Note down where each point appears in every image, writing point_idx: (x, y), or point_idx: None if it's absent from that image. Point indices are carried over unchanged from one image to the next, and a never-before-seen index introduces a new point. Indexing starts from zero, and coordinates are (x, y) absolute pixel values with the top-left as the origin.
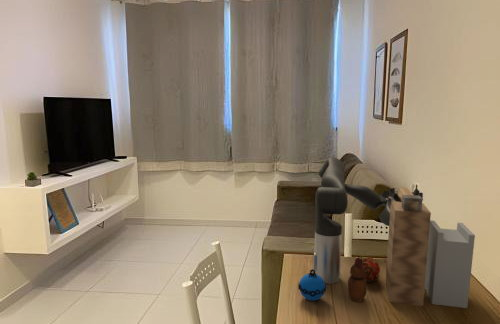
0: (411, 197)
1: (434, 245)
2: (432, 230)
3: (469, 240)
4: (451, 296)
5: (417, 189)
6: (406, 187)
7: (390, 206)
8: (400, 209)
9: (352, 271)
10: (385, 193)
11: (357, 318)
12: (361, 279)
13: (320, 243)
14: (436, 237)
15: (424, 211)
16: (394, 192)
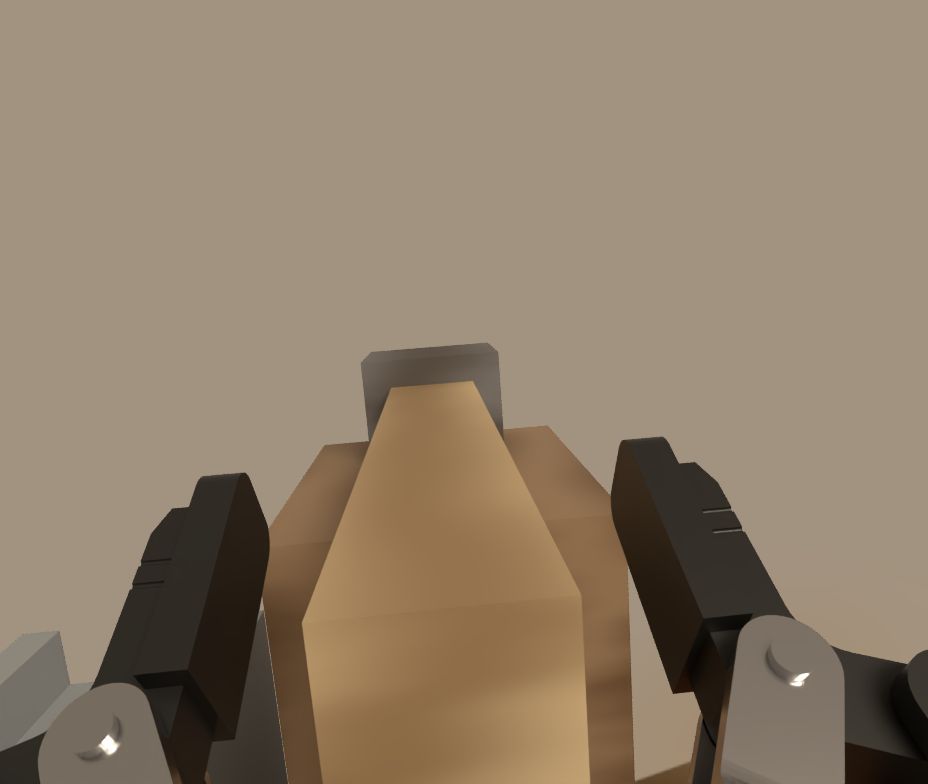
0: (439, 348)
1: (261, 775)
2: (212, 777)
3: (61, 669)
4: None
5: (214, 475)
6: (342, 610)
7: (627, 572)
8: (514, 437)
9: None
10: (883, 683)
11: (671, 774)
12: None
13: None
14: (260, 679)
15: (356, 448)
16: (614, 494)
